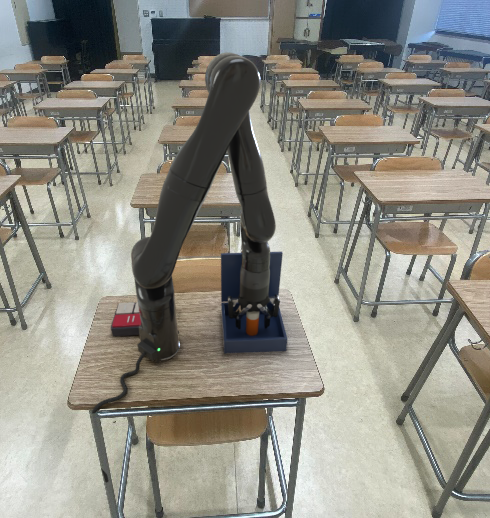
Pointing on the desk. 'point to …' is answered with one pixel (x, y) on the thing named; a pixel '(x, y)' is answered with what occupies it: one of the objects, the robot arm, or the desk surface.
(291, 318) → the desk surface
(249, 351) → the pencil box
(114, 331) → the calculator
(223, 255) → the lid
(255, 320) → the glue stick
